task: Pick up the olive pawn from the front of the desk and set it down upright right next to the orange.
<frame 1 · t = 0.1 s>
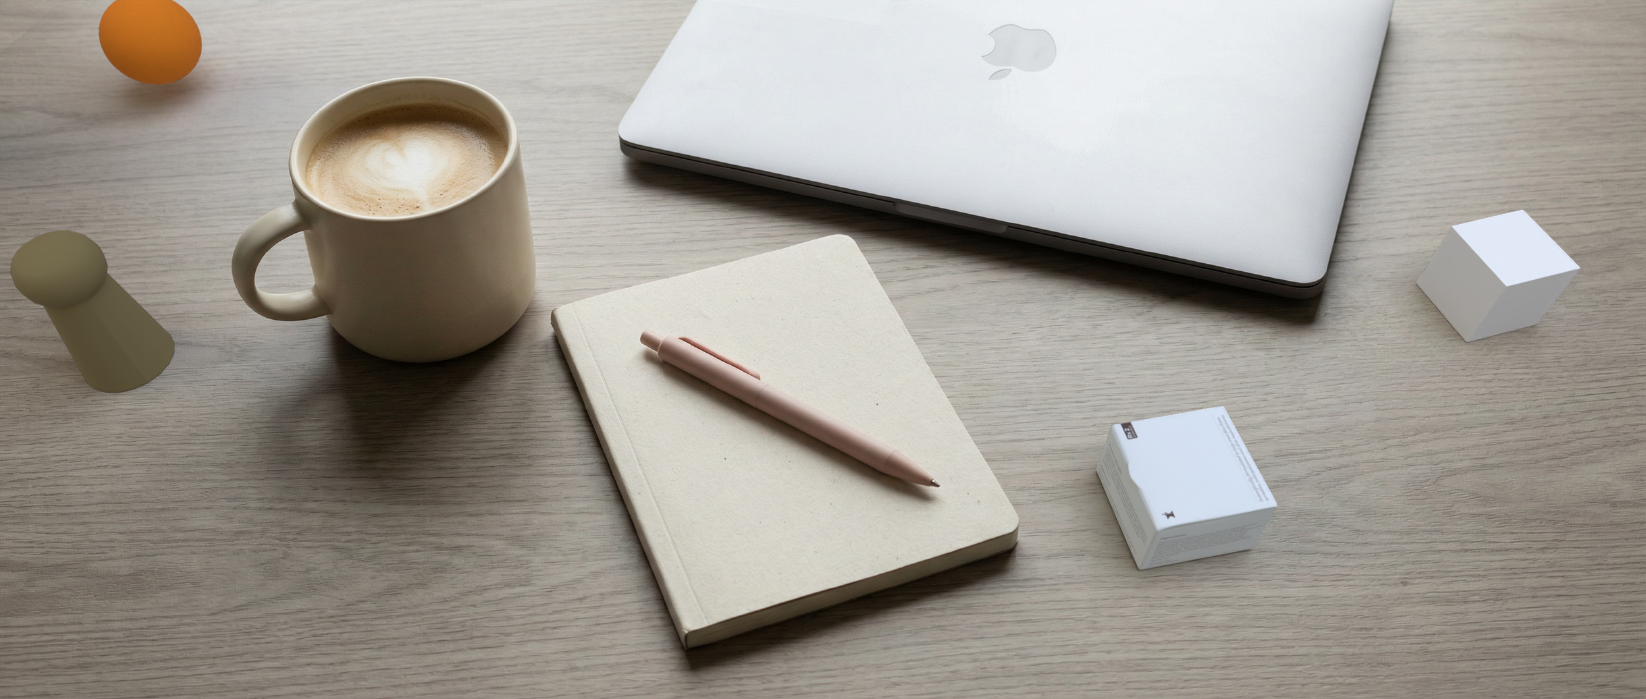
small box: (1170, 509, 71), on the table
white cube: (1474, 305, 82), on the table
olive pawn: (130, 360, 79), on the table
orange: (151, 38, 96), point 4 cm above the table
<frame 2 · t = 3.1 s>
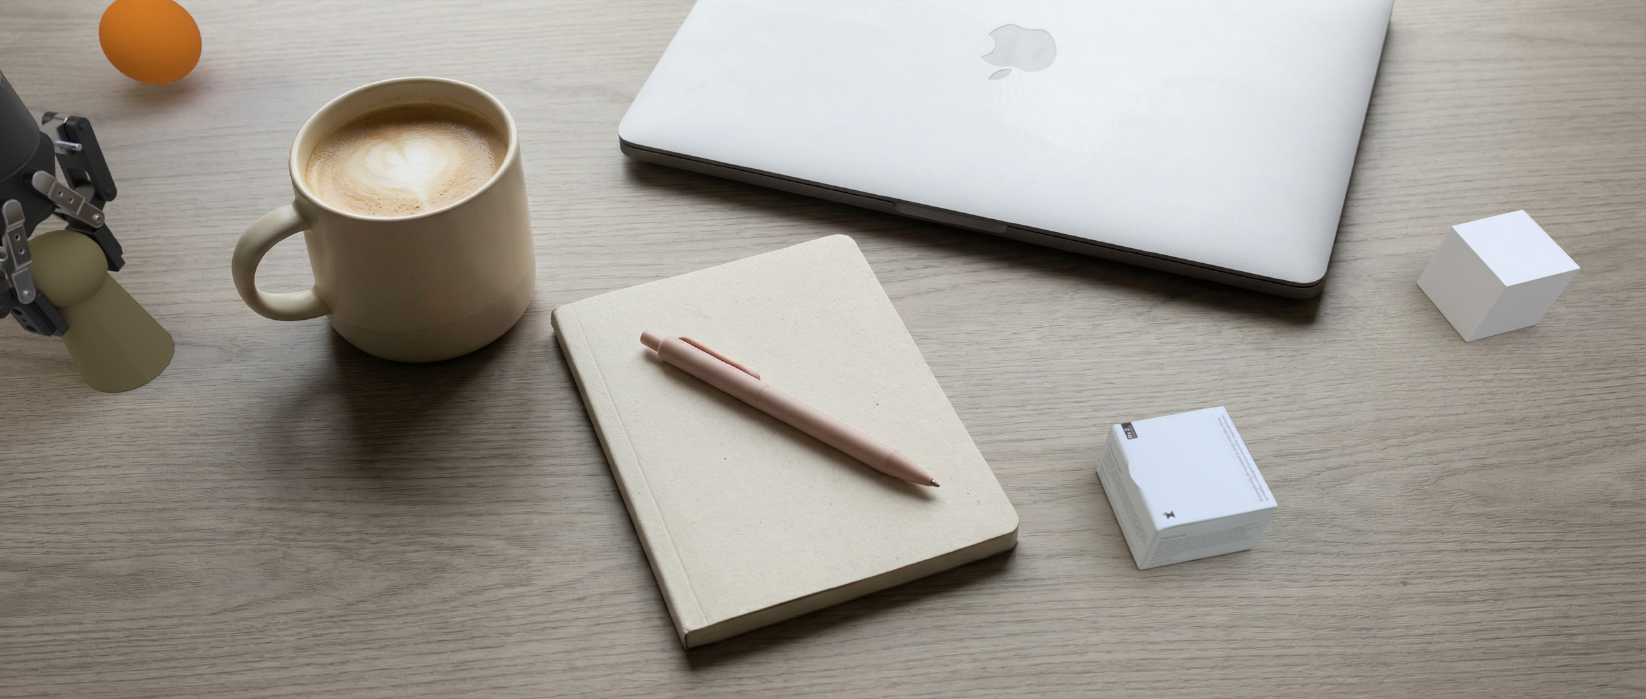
hand: (82, 297, 74), 6 cm above the table, tool pointing down, fingers closed on olive pawn, 5 cm apart
olive pawn: (130, 360, 79), on the table, touching gripper
everything else where it was.
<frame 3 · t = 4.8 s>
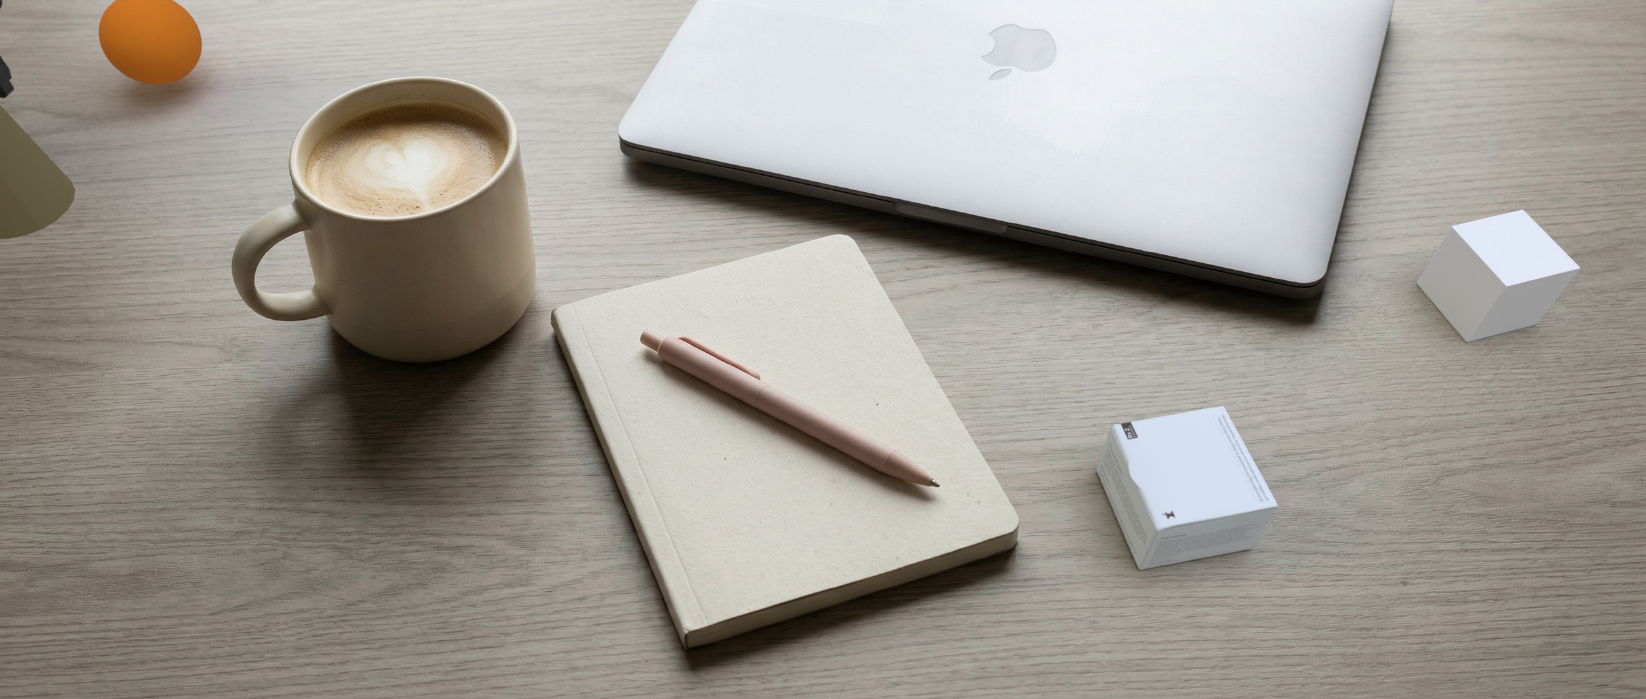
olive pawn: (24, 206, 70), point 13 cm above the table, touching gripper
everything else where it was.
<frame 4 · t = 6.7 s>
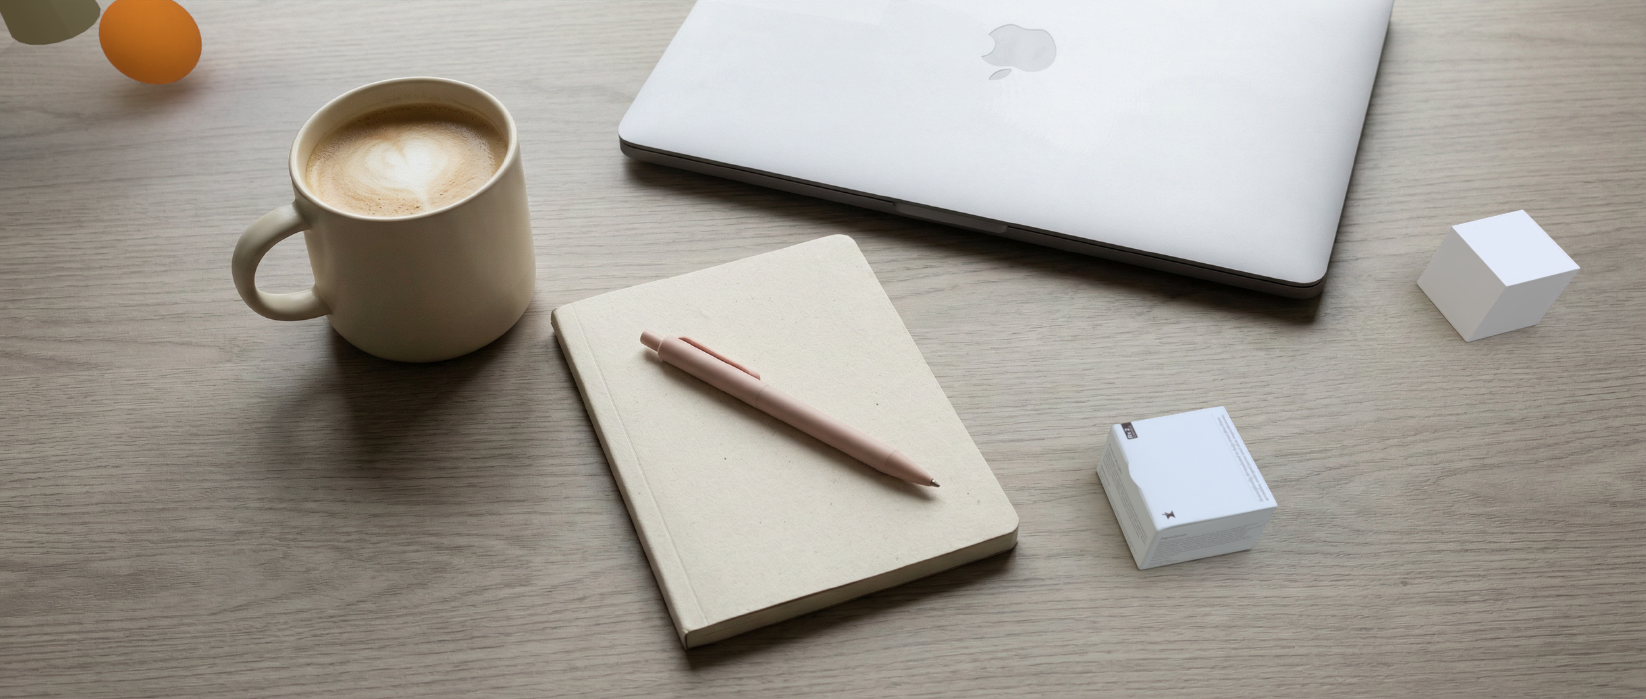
olive pawn: (56, 22, 81), point 14 cm above the table, touching gripper
everything else where it was.
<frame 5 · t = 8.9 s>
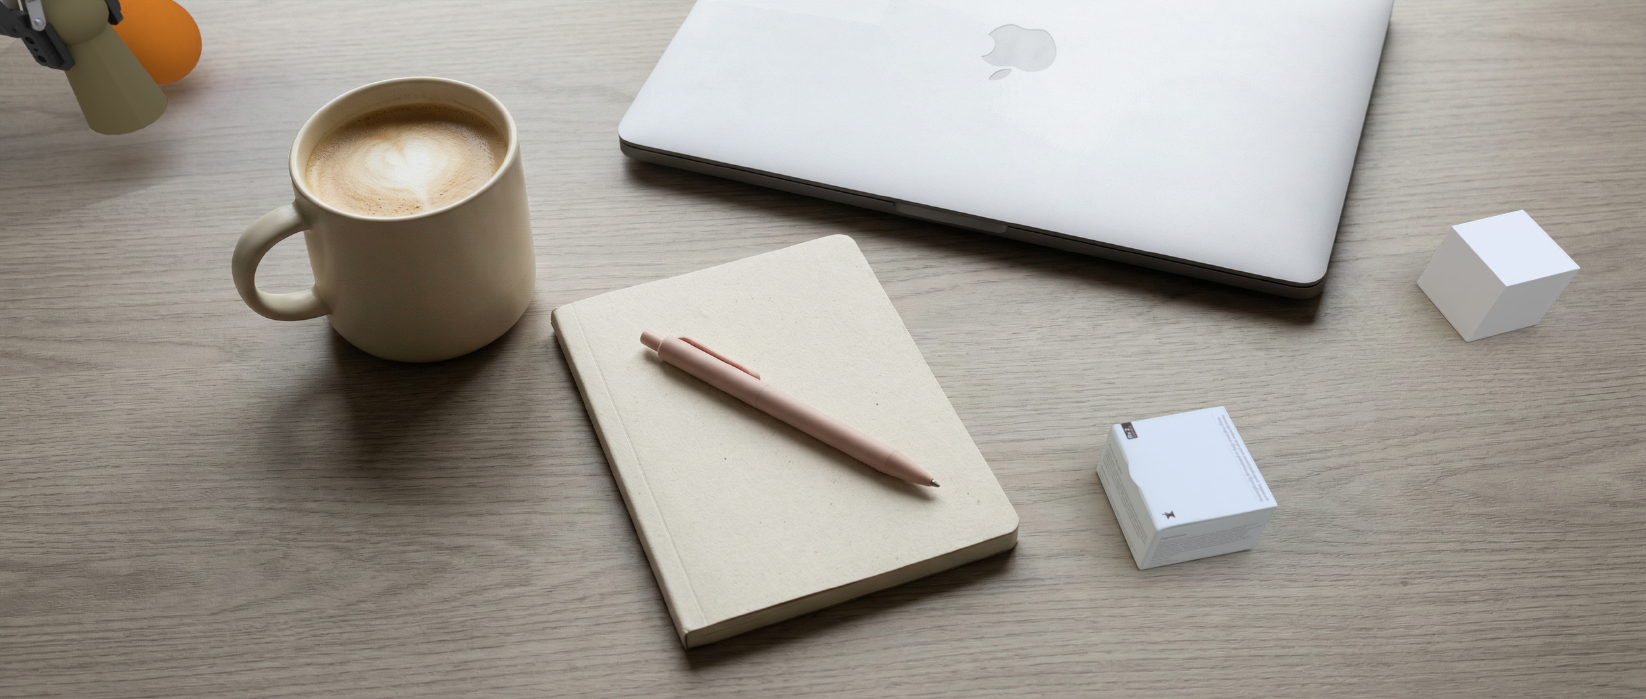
hand: (86, 43, 85), 10 cm above the table, tool pointing down, fingers closed on olive pawn, 5 cm apart
olive pawn: (128, 112, 90), point 4 cm above the table, touching gripper
everything else where it was.
when the fingers open (6 cm above the table, at t = 10.4 s): olive pawn stays where it is, on the table.
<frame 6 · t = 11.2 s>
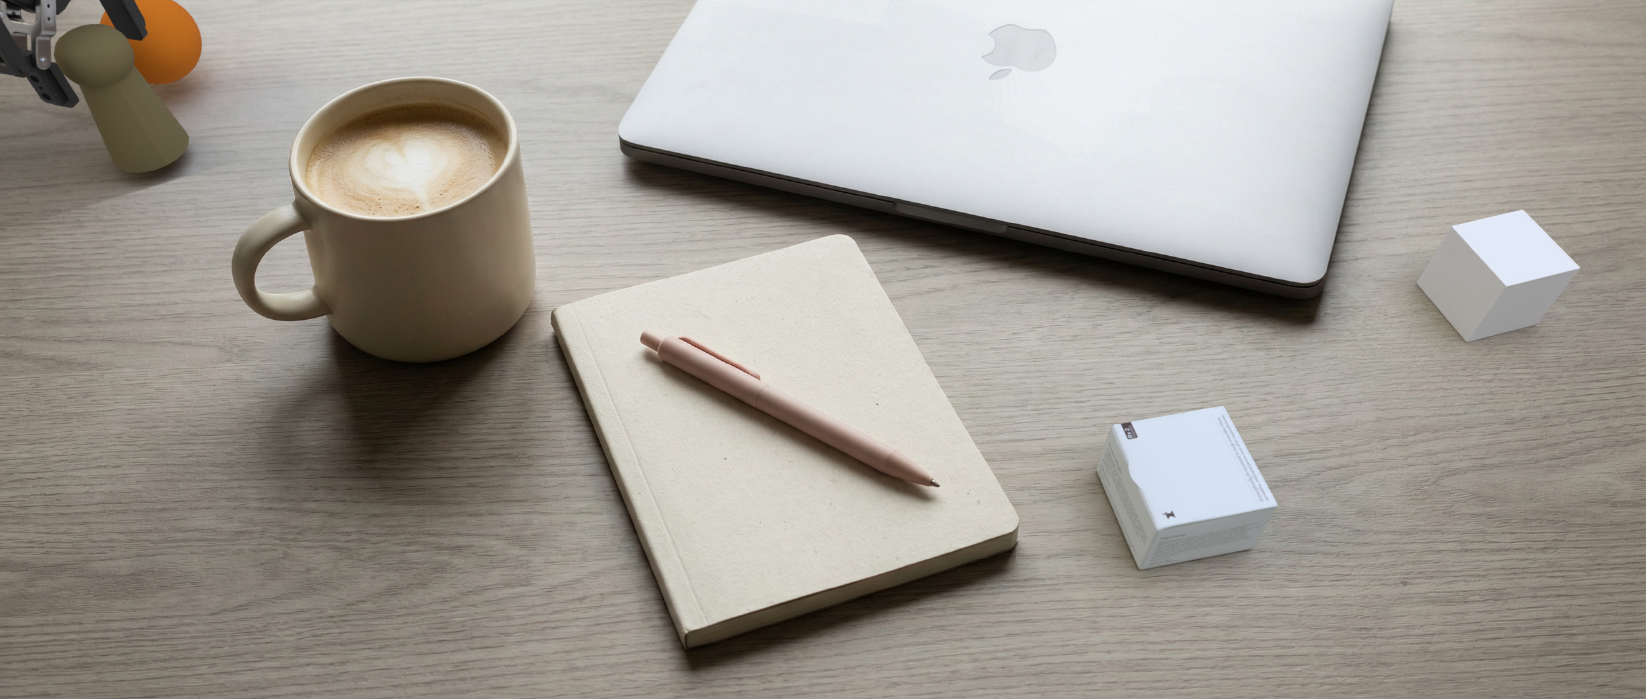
hand: (101, 69, 87), 8 cm above the table, tool pointing down, fingers open, 8 cm apart
olive pawn: (151, 149, 93), on the table
everything else where it was.
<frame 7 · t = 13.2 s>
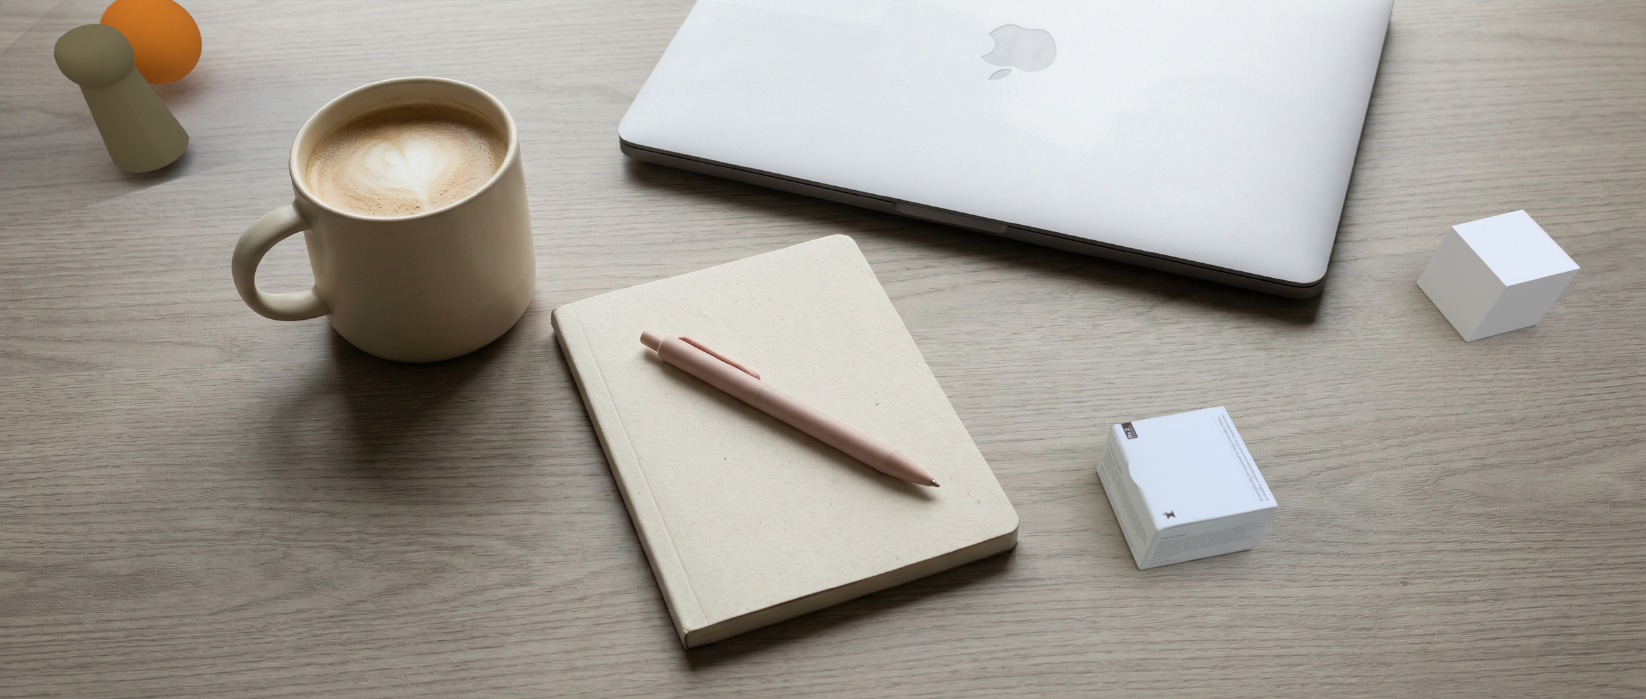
nothing on the table moved.
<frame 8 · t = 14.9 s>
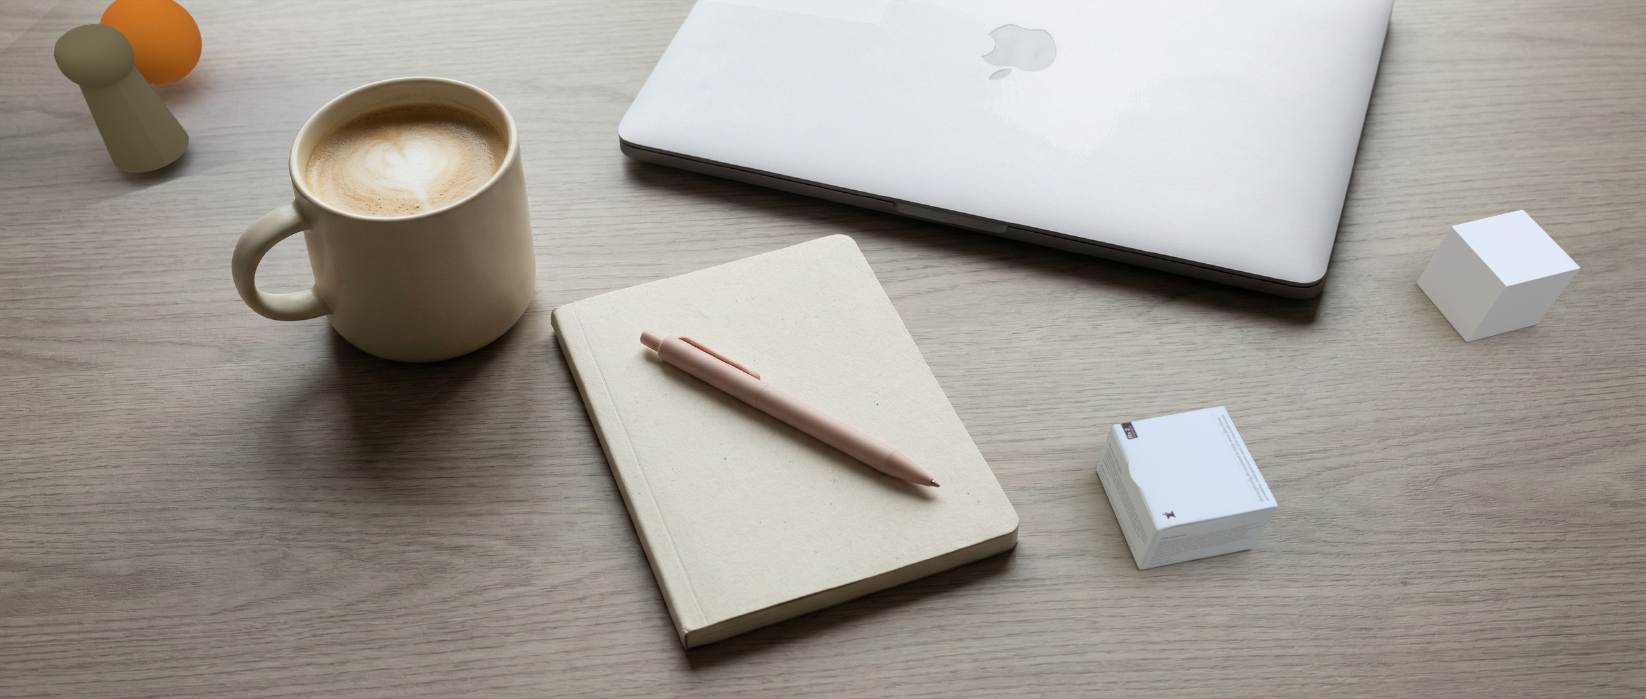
nothing on the table moved.
at the end: olive pawn 9.9 cm from the orange (horizontally); olive pawn tilted 0°; orange moved 0.0 cm from its start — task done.
